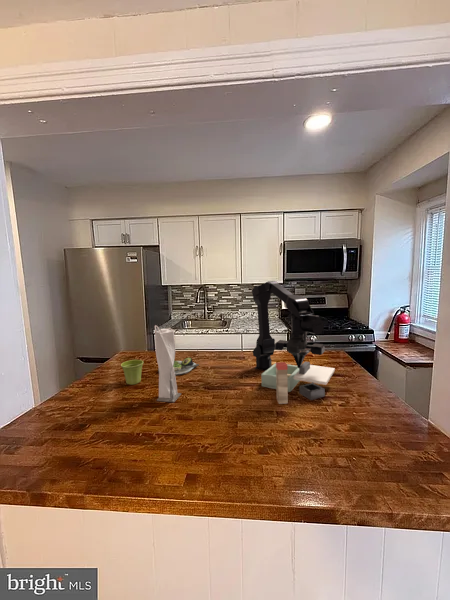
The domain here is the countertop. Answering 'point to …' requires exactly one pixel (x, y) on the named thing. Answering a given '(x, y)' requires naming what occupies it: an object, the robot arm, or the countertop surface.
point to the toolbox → (270, 377)
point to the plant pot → (132, 371)
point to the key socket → (311, 391)
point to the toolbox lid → (314, 373)
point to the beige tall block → (281, 382)
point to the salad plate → (183, 366)
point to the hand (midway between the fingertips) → (299, 367)
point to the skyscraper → (166, 364)
